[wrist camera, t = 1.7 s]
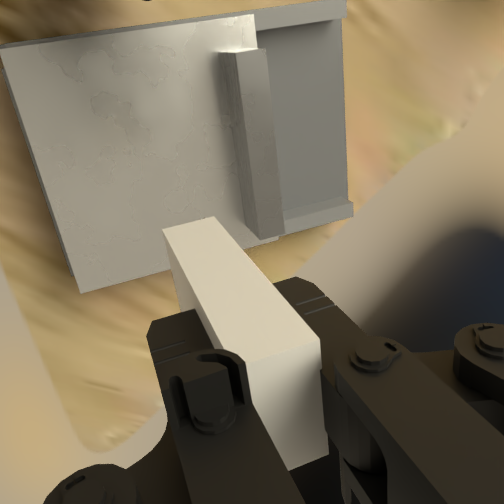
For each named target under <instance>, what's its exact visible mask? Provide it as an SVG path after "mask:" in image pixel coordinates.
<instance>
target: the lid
mask: <svg viewBox="0 0 504 504" xmlns="http://www.w3.org/2000/svg"><path fill="white" fill-rule="evenodd" d="M0 56H1V59H2V62H3V65H4V68H5V71H6V74H7V77H8V80H9V83H10V86H11V89H12V92H13V95H14V98H15V100H16V103H17V106H18V109H19V112H20V115H21V118H22V121H23V124H24V127H25V130H26V133H27V136H28V139H29V142H30V145H31V148H32V151H33V154H34V157H35V160H36V163H37V166H38V169H39V172H40V175H41V178H42V181H43V184H44V187H45V190H46V193H47V196H48V199H49V202H50V204H51V207H52V210H53V213H54V216H55V219H56V222H57V225H58V228H59V231H60V234H61V237H62V240H63V243H64V246H65V249H66V252H67V255H68V258H69V261H70V264H71V267H72V270H73V273H74V276H75V279H76V282H77V285H78V288H79V291H80V294H82V293H85V292H89V291H93V290H96V289H100V288H104V287H107V286H111V285H115V284H118V283H122V282H126V281H129V280H133V279H137V278H140V277H144V276H148V275H151V274H155V273H159V272H162V271H166V270H170V269H171V266H170V262H169V258H168V253H167V249H166V245H165V240H164V236H163V232H162V229H165V228H169V227H173V226H177V225H181V224H185V223H189V222H193V221H197V220H201V219H205V218H209V217H213V216H214V217H215V218H216V219H217V221H218V222H219V223H220V224H221V225H222V226H223V228H224V229H225V230H226V231H227V232H228V233H229V234H230V236H231V237H232V238H233V239H234V240H235V241H236V243H237V244H238V245H239V246H240V247H241V248H242V250H243V249H247V248H250V247H254V246H258V245H261V244H265V243H269V242H272V241H276V240H279V237H278V236H279V235H282V234H285V227H284V217H283V208H282V198H281V189H280V179H279V169H278V160H277V150H276V141H275V131H274V121H273V112H272V102H271V93H270V83H269V73H268V64H267V54H266V48H257V40H256V31H255V22H254V14H250V15H243V16H235V17H228V18H221V19H214V20H207V21H199V22H192V23H185V24H178V25H171V26H163V27H156V28H149V29H142V30H134V31H127V32H120V33H113V34H106V35H98V36H91V37H84V38H77V39H70V40H62V41H55V42H48V43H41V44H34V45H26V46H19V47H12V48H5V49H0Z"/></svg>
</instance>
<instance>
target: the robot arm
mask: <svg viewBox="0 0 504 504" xmlns="http://www.w3.org/2000/svg"><path fill="white" fill-rule="evenodd" d="M162 232H163V236H164V240H165V245H166V249H167V253H168V258H169V262H170V266H171V271H172V275H173V279H174V284H175V288H176V292H177V297H178V301H179V305H180V310H181V313H178V314H174V315H171V316H168V317H164V318H161V319H158V320H154V321H152V323H151V325H150V328H149V330H148V333H147V336H146V337H147V341H148V345H149V348H150V352H151V356H152V359H153V363H154V367H155V370H156V374H157V378H158V381H159V385H160V389H161V393H162V397H163V401H164V404H165V408H166V411H167V417H168V422H167V426H166V430H165V432H164V434H163V436H162V438H161V440H160V441H159V442H158V444H157V445H156V446H155V447H154V448H153V450H152V451H151V452H149V453H148V454H147V455H146V456H144V457H143V458H142V459H141V460H139V461H138V462H136V463H135V464H133V465H132V466H130V467H129V468H127V469H124V468H121V467H119V466H117V465H114V464H96V465H93V466H90V467H87V468H84V469H81V470H78V471H77V472H75V473H73V474H72V475H70V476H69V477H67V478H66V479H64V480H63V481H61V482H60V483H59V484H58V485H57V486H56V487H55V488H54V490H53V491H52V492H51V493H50V494H49V495H48V496H47V498H46V499H45V501H44V503H43V504H305V502H304V500H303V498H302V496H301V494H300V492H299V490H298V489H297V487H296V485H295V483H294V481H293V479H292V477H291V475H290V473H289V470H291V469H294V468H296V467H299V466H301V465H303V464H306V463H308V462H311V461H313V460H316V459H318V458H321V457H323V456H325V455H328V454H329V451H328V438H327V434H328V435H329V436H330V438H331V439H332V441H333V442H334V444H335V445H336V447H337V448H338V450H339V455H340V468H341V469H340V471H341V486H342V495H343V498H344V501H345V504H350V503H351V488H352V490H353V491H354V493H355V495H356V496H357V498H358V499H359V501H360V502H361V504H504V325H501V324H492V323H481V324H472V325H470V326H468V327H465V328H463V329H461V330H460V331H459V332H458V333H457V334H456V335H455V344H454V350H446V351H436V352H425V353H411V352H409V351H408V350H407V349H406V348H405V347H404V346H402V345H401V344H399V343H397V342H396V341H394V340H391V339H388V338H384V337H380V336H367V334H366V333H365V332H363V331H362V330H361V329H360V328H359V327H358V326H357V325H356V324H355V323H354V322H353V321H352V320H351V319H350V318H349V317H348V316H347V315H346V314H345V313H344V312H343V311H342V310H341V309H339V308H338V306H335V305H334V303H333V302H332V301H331V300H330V299H329V298H328V297H325V294H324V293H323V292H322V291H321V290H320V289H319V288H318V287H317V286H316V285H314V283H311V282H309V281H306V280H304V279H301V278H299V277H293V278H290V279H286V280H283V281H280V282H276V283H273V284H272V283H271V282H270V281H269V280H268V279H267V277H266V276H265V275H264V274H263V273H262V272H261V270H260V269H259V268H258V267H257V266H256V265H255V263H254V262H253V261H252V260H251V259H250V258H249V257H248V255H247V254H246V253H245V252H244V251H243V250H242V248H241V247H240V246H239V245H238V244H237V243H236V241H235V240H234V239H233V238H232V237H231V236H230V234H229V233H228V232H227V231H226V230H225V229H224V228H223V226H222V225H221V224H220V223H219V222H218V221H217V219H216V218H215V217H214V216H213V217H209V218H205V219H201V220H197V221H193V222H189V223H185V224H181V225H177V226H173V227H169V228H165V229H162Z"/></svg>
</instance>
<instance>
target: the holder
mask: <svg viewBox="0 0 504 504" xmlns="http://www.w3.org/2000/svg"><path fill="white" fill-rule="evenodd" d="M250 14H254V22H255V31H256V40H257V48H266V54H267V64H268V73H269V83H270V93H271V102H272V112H273V121H274V131H275V141H276V150H277V160H278V169H279V179H280V189H281V198H282V208H283V217H284V227H285V234H282V235H279V236H278V237H280V236H284V235H287V234H291V233H295V232H298V231H302V230H306V229H309V228H313V227H317V226H321V225H324V224H328V223H332V222H335V221H339V220H343V219H346V218H350V217H353V202H351V201H349V200H348V181H347V154H346V128H345V101H344V75H343V48H342V22H341V18H346V17H347V5H346V0H321V1H314V2H307V3H299V4H292V5H285V6H277V7H270V8H263V9H255V10H248V11H241V12H233V13H226V14H219V15H211V16H204V17H197V18H189V19H182V20H175V21H167V22H160V23H153V24H145V25H138V26H131V27H123V28H116V29H109V30H101V31H94V32H87V33H79V34H72V35H65V36H57V37H50V38H43V39H35V40H28V41H21V42H13V43H6V44H2V45H0V49H5V48H12V47H19V46H26V45H34V44H41V43H48V42H55V41H62V40H70V39H77V38H84V37H91V36H98V35H106V34H113V33H120V32H127V31H134V30H142V29H149V28H156V27H163V26H171V25H178V24H185V23H192V22H199V21H207V20H214V19H221V18H228V17H235V16H243V15H250ZM1 70H2V73H3V76H4V79H5V82H6V85H7V88H8V91H9V94H10V97H11V100H12V103H13V106H14V109H15V112H16V114H17V117H18V120H19V123H20V126H21V129H22V132H23V135H24V138H25V141H26V144H27V147H28V150H29V153H30V156H31V159H32V162H33V164H34V167H35V170H36V173H37V176H38V179H39V182H40V185H41V188H42V191H43V194H44V197H45V200H46V203H47V206H48V209H49V212H50V214H51V217H52V220H53V223H54V226H55V229H56V232H57V235H58V238H59V241H60V244H61V247H62V250H63V253H64V256H65V259H66V262H67V265H68V267H69V270H70V273H71V276H74V273H73V270H72V267H71V264H70V261H69V258H68V255H67V252H66V249H65V246H64V243H63V240H62V237H61V234H60V231H59V228H58V225H57V222H56V219H55V216H54V213H53V210H52V207H51V204H50V202H49V199H48V196H47V193H46V190H45V187H44V184H43V181H42V178H41V175H40V172H39V169H38V166H37V163H36V160H35V157H34V154H33V151H32V148H31V145H30V142H29V139H28V136H27V133H26V130H25V127H24V124H23V121H22V118H21V115H20V112H19V109H18V106H17V103H16V100H15V98H14V95H13V92H12V89H11V86H10V83H9V80H8V77H7V74H6V71H5V68H2V69H1Z"/></svg>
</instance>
